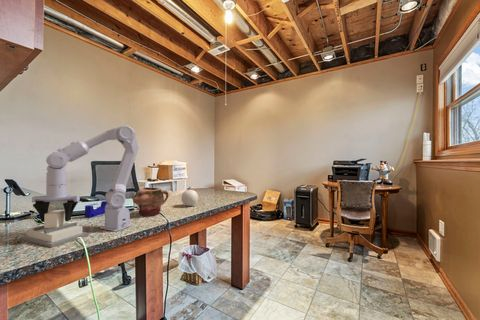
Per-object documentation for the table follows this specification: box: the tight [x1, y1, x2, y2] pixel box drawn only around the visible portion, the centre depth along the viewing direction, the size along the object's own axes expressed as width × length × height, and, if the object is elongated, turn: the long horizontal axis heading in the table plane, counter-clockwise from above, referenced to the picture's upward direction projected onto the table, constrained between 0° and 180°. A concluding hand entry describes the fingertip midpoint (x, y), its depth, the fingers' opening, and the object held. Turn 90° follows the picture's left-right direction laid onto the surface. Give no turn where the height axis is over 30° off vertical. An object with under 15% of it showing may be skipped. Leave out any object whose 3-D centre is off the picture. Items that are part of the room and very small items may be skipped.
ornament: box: [181, 186, 199, 207], centre depth 136 cm, size 10×10×12 cm
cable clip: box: [84, 200, 107, 219], centre depth 111 cm, size 12×4×6 cm, turn 173°
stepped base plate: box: [20, 222, 90, 248], centre depth 80 cm, size 18×12×4 cm, turn 69°
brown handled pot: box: [133, 187, 169, 217], centre depth 115 cm, size 20×12×14 cm, turn 150°
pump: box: [43, 210, 68, 228], centre depth 80 cm, size 4×8×5 cm, turn 11°
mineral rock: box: [48, 201, 67, 213], centre depth 109 cm, size 13×11×10 cm
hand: (56, 220), depth 80 cm, fingers open, 7 cm apart
